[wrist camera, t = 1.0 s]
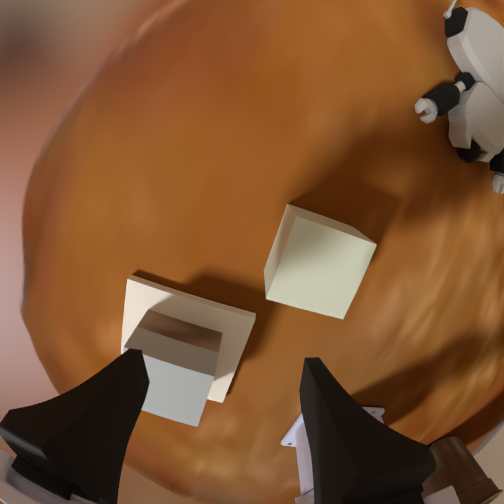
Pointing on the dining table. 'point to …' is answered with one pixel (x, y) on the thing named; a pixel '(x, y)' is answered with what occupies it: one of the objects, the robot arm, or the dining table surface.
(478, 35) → the robot toy
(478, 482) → the plant pot
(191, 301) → the cream board
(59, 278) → the dining table surface
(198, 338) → the walnut slab
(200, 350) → the light grey flat block
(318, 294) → the sage block
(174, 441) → the dining table surface
